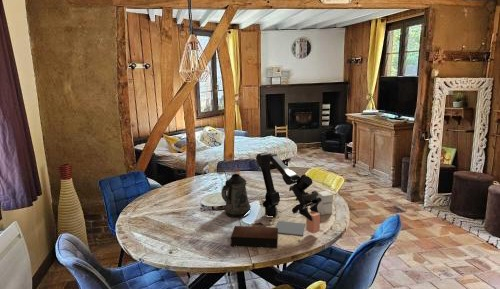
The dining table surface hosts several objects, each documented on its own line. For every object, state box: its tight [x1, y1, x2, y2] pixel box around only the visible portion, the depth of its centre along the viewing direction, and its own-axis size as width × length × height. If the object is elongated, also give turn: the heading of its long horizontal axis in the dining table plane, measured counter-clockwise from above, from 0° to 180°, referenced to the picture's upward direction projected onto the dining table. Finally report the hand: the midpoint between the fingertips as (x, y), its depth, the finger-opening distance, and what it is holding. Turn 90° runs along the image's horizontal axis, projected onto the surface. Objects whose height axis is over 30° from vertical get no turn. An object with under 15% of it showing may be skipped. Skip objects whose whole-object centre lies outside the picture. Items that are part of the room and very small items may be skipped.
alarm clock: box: [230, 225, 279, 249], centre depth 175 cm, size 24×12×6 cm, turn 84°
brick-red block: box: [305, 210, 321, 235], centre depth 179 cm, size 5×5×10 cm
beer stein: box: [220, 173, 252, 219], centre depth 207 cm, size 16×19×25 cm
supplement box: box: [316, 190, 334, 216], centre depth 209 cm, size 7×7×13 cm
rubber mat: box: [274, 220, 306, 237], centre depth 189 cm, size 16×14×1 cm
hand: (315, 219), depth 178 cm, fingers closed on brick-red block, 5 cm apart
